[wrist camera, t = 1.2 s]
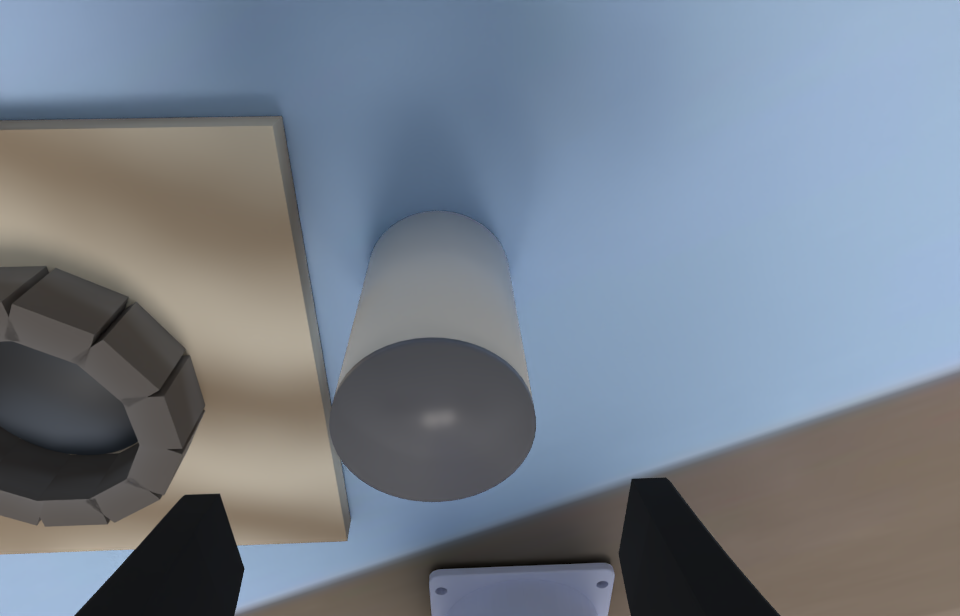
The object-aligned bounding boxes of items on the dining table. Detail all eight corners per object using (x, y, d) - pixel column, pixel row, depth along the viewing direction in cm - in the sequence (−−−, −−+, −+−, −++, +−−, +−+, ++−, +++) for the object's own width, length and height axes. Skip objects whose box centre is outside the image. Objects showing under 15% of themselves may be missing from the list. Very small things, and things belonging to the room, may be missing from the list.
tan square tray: (350, 520, 24) (339, 587, 22) (-57, 535, 24) (-118, 606, 21) (282, 116, 16) (250, 148, 14) (-342, 125, 16) (-498, 161, 13)
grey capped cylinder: (507, 333, 20) (532, 498, 14) (374, 337, 20) (342, 505, 14) (510, 209, 18) (540, 342, 12) (360, 212, 18) (315, 348, 12)
